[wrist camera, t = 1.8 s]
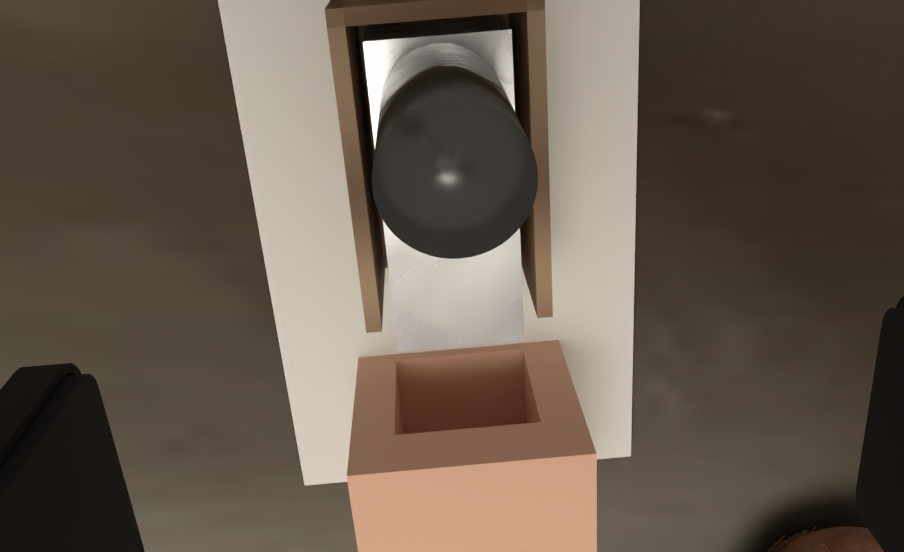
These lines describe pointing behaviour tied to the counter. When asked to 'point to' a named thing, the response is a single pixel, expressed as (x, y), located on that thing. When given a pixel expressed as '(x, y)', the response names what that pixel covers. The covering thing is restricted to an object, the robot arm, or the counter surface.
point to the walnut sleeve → (346, 21)
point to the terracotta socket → (471, 453)
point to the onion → (829, 541)
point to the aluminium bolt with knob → (450, 178)
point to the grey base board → (337, 278)
